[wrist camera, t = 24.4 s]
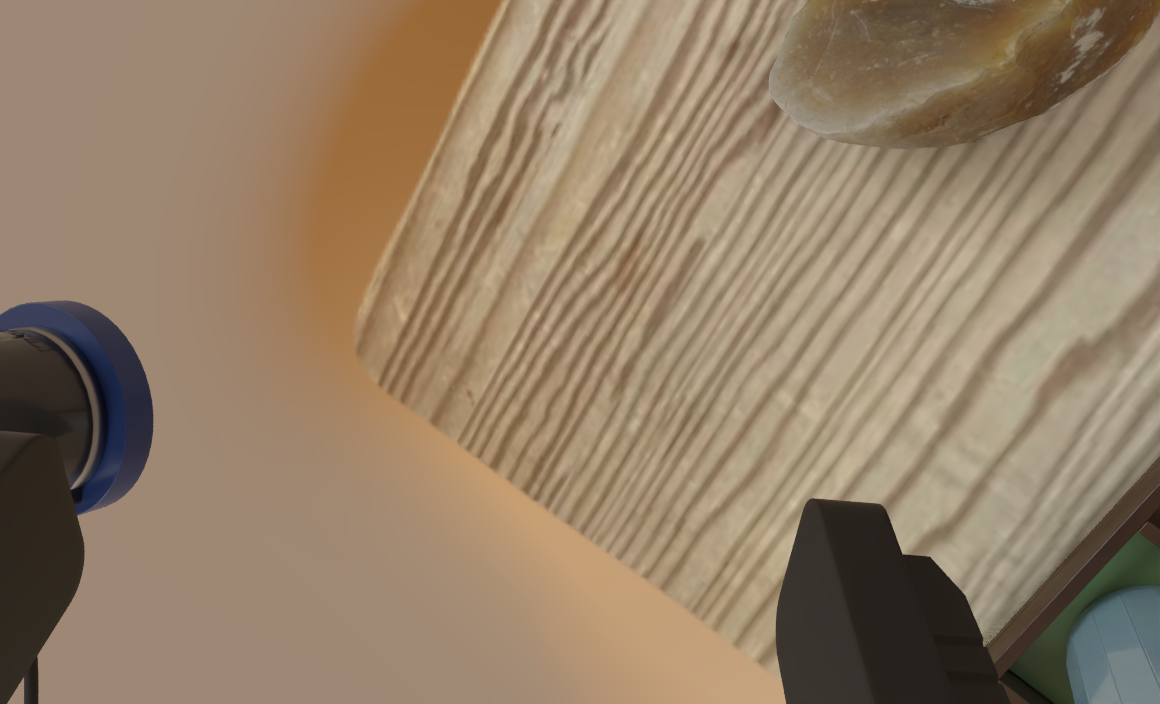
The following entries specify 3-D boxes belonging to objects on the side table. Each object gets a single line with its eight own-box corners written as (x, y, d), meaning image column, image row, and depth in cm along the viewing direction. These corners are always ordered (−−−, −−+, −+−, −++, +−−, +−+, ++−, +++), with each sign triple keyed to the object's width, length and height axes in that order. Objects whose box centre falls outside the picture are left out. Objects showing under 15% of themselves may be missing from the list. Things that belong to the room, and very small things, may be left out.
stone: (726, 53, 29) (1278, -292, 23) (753, 34, 35) (1200, -246, 28) (836, 251, 31) (1387, -20, 24) (845, 202, 36) (1292, -28, 30)
